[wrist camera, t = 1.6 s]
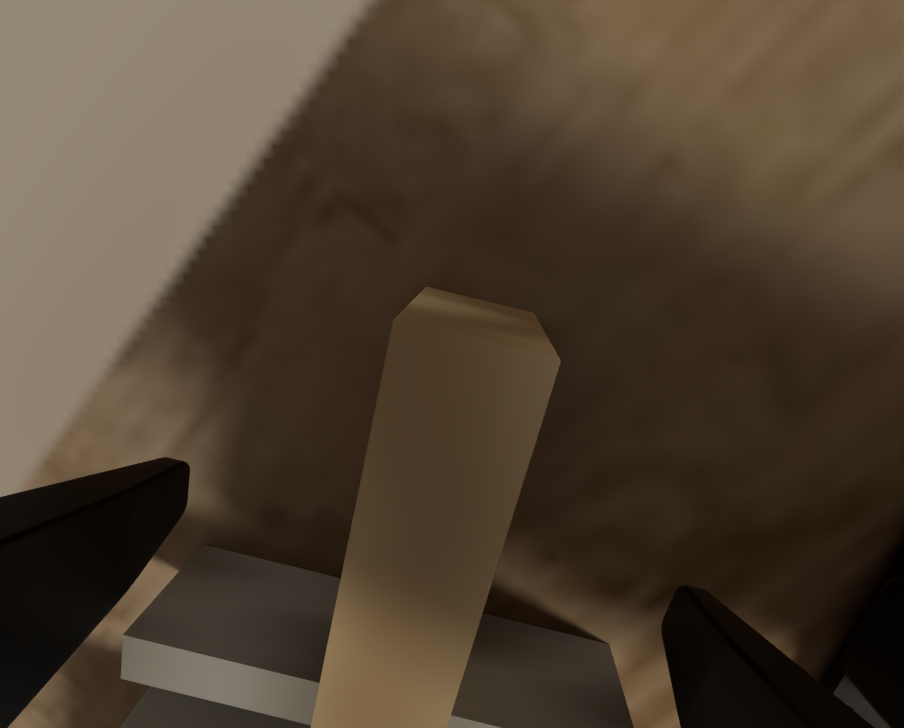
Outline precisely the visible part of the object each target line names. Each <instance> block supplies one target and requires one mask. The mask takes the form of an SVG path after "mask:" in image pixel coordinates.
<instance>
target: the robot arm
mask: <svg viewBox="0 0 904 728" xmlns="http://www.w3.org/2000/svg"><path fill="white" fill-rule="evenodd" d="M189 476H190V467H189V465H188V464H187V462H184V461H180V460H176V459H172V458H168V457H163V458H159V459H155V460H151V461H146V462H142V463H138V464H134V465H130V466H126V467H122V468H118V469H114V470H110V471H105V472H101V473H97V474H93V475H89V476H85V477H81V478H77V479H73V480H69V481H64V482H60V483H56V484H52V485H48V486H44V487H40V488H36V489H32V490H28V491H23V492H19V493H15V494H11V495H7V496H3V497H0V728H8V727H9V725H10V724H11V723H12V722H13V721H14V720H15V719H16V717H17V716H18V715H19V714H20V713H21V712H22V711H23V709H24V708H25V707H26V706H27V705H28V704H29V703H30V701H31V700H32V699H33V698H34V697H35V696H36V695H37V694H38V692H39V691H40V690H41V689H42V688H43V687H44V686H45V684H46V683H47V682H48V681H49V680H50V679H51V678H52V676H53V675H54V674H55V673H56V672H57V671H58V670H59V668H60V667H61V666H62V665H63V664H64V663H65V662H66V661H67V659H68V658H69V657H70V656H71V655H72V654H73V653H74V651H75V650H76V649H77V648H78V647H79V646H80V645H81V643H82V642H83V641H84V640H85V639H86V638H87V637H88V635H89V634H90V633H91V632H92V631H93V630H94V629H95V627H96V626H97V625H98V624H99V623H100V622H101V621H102V620H103V618H104V617H105V616H106V615H107V614H108V613H109V612H110V610H111V609H112V608H113V607H114V606H115V605H116V604H117V602H118V601H119V600H120V599H121V598H122V597H123V595H124V594H125V593H126V592H127V591H128V589H129V588H130V587H131V585H132V584H133V583H134V581H135V580H136V579H137V578H138V576H139V575H140V573H141V572H142V571H143V569H144V568H145V566H146V565H147V564H148V562H149V561H150V559H151V558H152V557H153V555H154V554H155V553H156V551H157V550H158V548H159V547H160V546H161V544H162V543H163V541H164V540H165V539H166V537H167V536H168V534H169V533H170V532H171V530H172V529H173V527H174V526H175V525H176V523H177V522H178V521H179V519H180V518H181V516H182V515H183V513H184V511H185V508H186V505H187V500H188V488H189ZM661 629H662V638H663V643H664V648H665V653H666V658H667V663H668V668H669V673H670V678H671V683H672V688H673V693H674V698H675V703H676V708H677V712H678V717H679V721H680V725H681V728H904V542H903V544H902V545H901V547H900V549H899V551H898V552H897V554H896V556H895V557H894V559H893V561H892V562H891V564H890V566H889V567H888V569H887V571H886V573H885V574H884V576H883V578H882V579H881V581H880V583H879V584H878V586H877V588H876V589H875V591H874V593H873V594H872V596H871V598H870V600H869V601H868V603H867V605H866V606H865V608H864V610H863V611H862V613H861V615H860V616H859V618H858V620H857V621H856V623H855V625H854V627H853V628H852V630H851V632H850V633H849V635H848V637H847V638H846V640H845V642H844V643H843V645H842V647H841V648H840V650H839V652H838V654H837V655H836V657H835V659H834V660H833V662H832V664H831V665H830V667H829V669H828V670H827V672H826V674H825V675H824V677H823V679H822V681H821V682H820V683H819V682H818V681H817V680H816V679H814V678H813V677H812V676H811V675H809V674H808V673H807V672H806V671H805V670H803V669H802V668H801V667H800V666H798V665H797V664H796V663H795V662H793V661H792V660H791V659H790V658H789V657H787V656H786V655H785V654H784V653H782V652H781V651H780V650H779V649H777V648H776V647H775V646H774V645H773V644H771V643H770V642H769V641H768V640H766V639H765V638H764V637H763V636H762V635H760V634H759V633H758V632H757V631H755V630H754V629H753V628H752V627H750V626H749V625H748V624H747V623H746V622H744V621H743V620H742V619H741V618H739V617H738V616H737V615H736V614H735V613H733V612H732V611H731V610H730V609H728V608H727V607H726V606H725V605H723V604H722V603H721V602H720V601H719V600H717V599H716V598H715V597H714V596H712V595H711V594H710V593H709V592H707V591H706V590H704V589H701V588H697V587H693V586H689V585H681V586H679V587H678V588H677V589H676V591H675V593H674V595H673V598H672V600H671V602H670V604H669V607H668V609H667V611H666V613H665V616H664V618H663V621H662V628H661Z"/></svg>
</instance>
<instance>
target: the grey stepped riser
mask: <svg viewBox="0 0 904 728" xmlns="http://www.w3.org/2000/svg"><path fill="white" fill-rule="evenodd" d="M119 728H311V725H308V724H303V723H299V722H295V721H291V720H287V719H283V718H279V717H275V716H271V715H267V714H263V713H259V712H254V711H250V710H246V709H242V708H238V707H234V706H230V705H226V704H222V703H218V702H214V701H210V700H205V699H201V698H197V697H193V696H189V695H185V694H181V693H177V692H173V691H169V690H165V689H161V688H156V687H152V686H149V688H148V689H147V691H146V692H145V693H144V695H143V696H142V697H141V699H140V700H139V701H138V703H137V704H136V706H135V707H134V708H133V710H132V711H131V712H130V714H129V715H128V716H127V718H126V719H125V721H124V722H123V723H122V725H121V726H120V727H119Z"/></svg>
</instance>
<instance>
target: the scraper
mask: <svg viewBox="0 0 904 728" xmlns="http://www.w3.org/2000/svg"><path fill="white" fill-rule="evenodd" d="M560 363H561V360H560V358H559V356H558V355H557V353H556V351H555V349H554V348H553V346H552V344H551V342H550V340H549V339H548V337H547V335H546V333H545V331H544V330H543V328H542V326H541V324H540V323H539V321H538V319H537V317H536V315H535V314H534V313H533V312H529V311H525V310H521V309H517V308H513V307H509V306H505V305H500V304H496V303H492V302H488V301H484V300H480V299H476V298H472V297H468V296H464V295H460V294H456V293H451V292H447V291H443V290H439V289H435V288H431V287H427V286H426V287H425V288H424V289H423V290H422V291H421V292H420V293H419V294H418V295H417V296H416V297H415V298H414V299H413V300H412V301H411V302H410V303H409V304H408V305H407V306H406V307H405V308H404V309H403V310H402V311H401V312H400V313H399V314H398V315H397V316H396V317H395V318H394V319H393V322H392V327H391V332H390V337H389V342H388V347H387V352H386V357H385V362H384V367H383V372H382V377H381V382H380V386H379V391H378V396H377V401H376V406H375V411H374V416H373V421H372V426H371V431H370V436H369V441H368V446H367V451H366V456H365V461H364V466H363V471H362V476H361V481H360V486H359V491H358V495H357V500H356V505H355V510H354V515H353V520H352V525H351V530H350V535H349V540H348V545H347V550H346V555H345V560H344V565H343V570H342V575H341V578H338V577H334V576H330V575H326V574H322V573H318V572H314V571H310V570H305V569H301V568H297V567H293V566H289V565H285V564H281V563H277V562H273V561H269V560H265V559H261V558H257V557H253V556H249V555H244V554H240V553H236V552H232V551H228V550H224V549H220V548H216V547H212V546H208V545H204V544H203V545H202V546H201V548H200V549H199V550H198V551H197V552H196V553H195V554H194V555H193V557H192V558H191V559H190V560H189V561H188V562H187V563H186V564H185V566H184V567H183V568H182V569H181V570H180V571H179V572H178V573H177V575H176V576H175V577H174V578H173V579H172V580H171V581H170V582H169V584H168V585H167V586H166V587H165V588H164V589H163V590H162V591H161V593H160V594H159V595H158V596H157V597H156V598H155V599H154V600H153V601H152V603H151V604H150V605H149V606H148V607H147V608H146V609H145V610H144V612H143V613H142V614H141V615H140V616H139V617H138V618H137V619H136V621H135V622H134V623H133V624H132V625H131V626H130V627H129V628H128V630H127V631H126V632H125V633H124V634H123V641H122V663H121V679H124V680H128V681H132V682H136V683H140V684H144V685H148V686H152V687H156V688H161V689H165V690H169V691H173V692H177V693H181V694H185V695H189V696H193V697H197V698H201V699H205V700H210V701H214V702H218V703H222V704H226V705H230V706H234V707H238V708H242V709H246V710H250V711H254V712H259V713H263V714H267V715H271V716H275V717H279V718H283V719H287V720H291V721H295V722H299V723H303V724H308V725H311V728H634V727H633V723H632V720H631V717H630V713H629V710H628V707H627V703H626V700H625V696H624V693H623V690H622V686H621V683H620V679H619V676H618V673H617V669H616V666H615V662H614V659H613V656H612V652H611V649H610V646H609V644H606V643H602V642H598V641H594V640H590V639H586V638H582V637H578V636H574V635H570V634H566V633H562V632H558V631H553V630H549V629H545V628H541V627H537V626H533V625H529V624H525V623H521V622H517V621H513V620H509V619H505V618H501V617H497V616H492V615H488V614H484V613H483V610H484V607H485V604H486V600H487V597H488V594H489V591H490V588H491V584H492V581H493V578H494V575H495V572H496V568H497V565H498V562H499V559H500V555H501V552H502V549H503V546H504V543H505V539H506V536H507V533H508V530H509V527H510V523H511V520H512V517H513V514H514V511H515V507H516V504H517V501H518V498H519V495H520V491H521V488H522V485H523V482H524V478H525V475H526V472H527V469H528V466H529V462H530V459H531V456H532V453H533V450H534V446H535V443H536V440H537V437H538V434H539V430H540V427H541V424H542V421H543V418H544V414H545V411H546V408H547V405H548V401H549V398H550V395H551V392H552V389H553V385H554V382H555V379H556V376H557V373H558V369H559V366H560Z"/></svg>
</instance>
